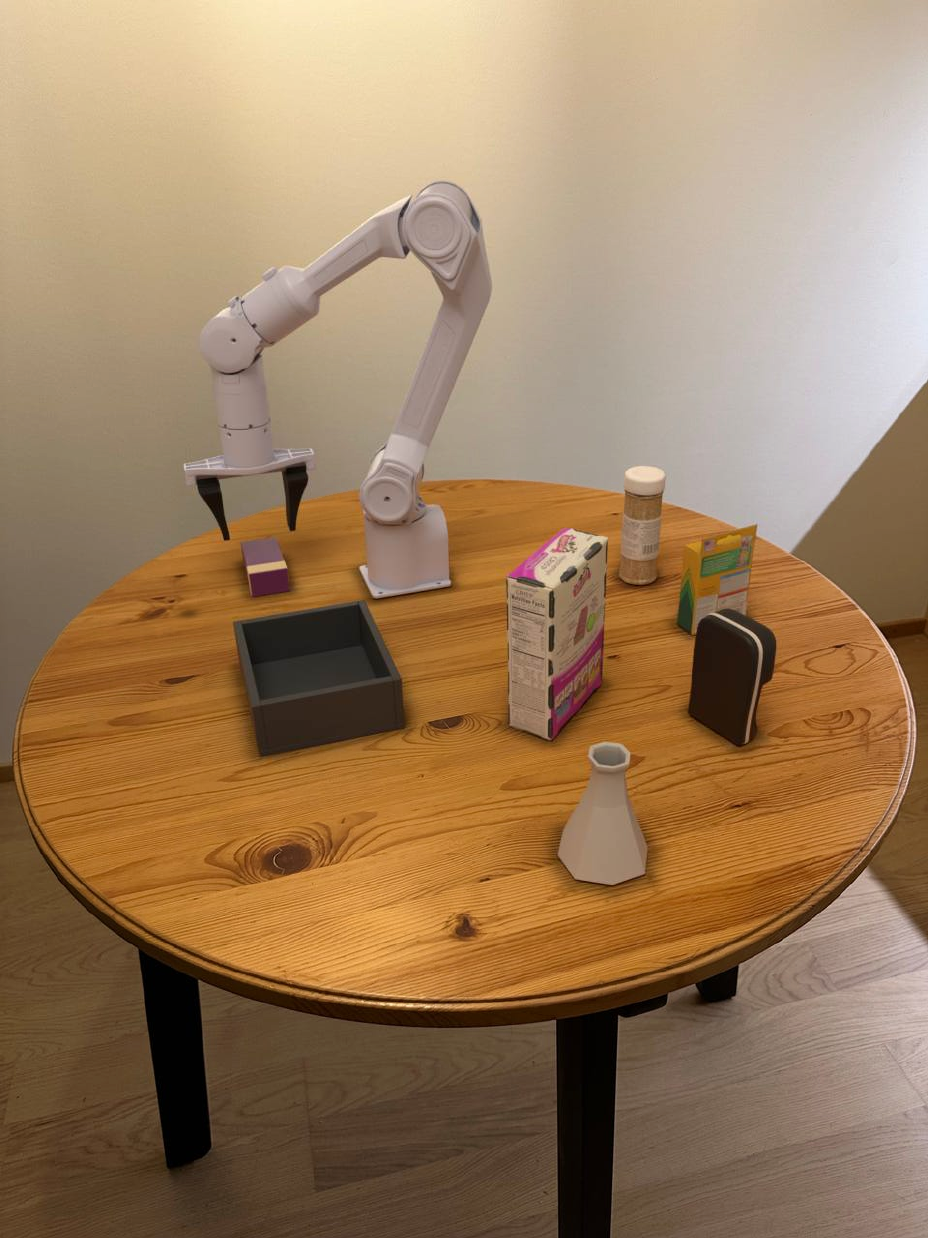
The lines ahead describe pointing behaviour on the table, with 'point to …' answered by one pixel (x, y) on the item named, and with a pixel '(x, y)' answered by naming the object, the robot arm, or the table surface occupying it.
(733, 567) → the crayon box
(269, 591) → the chocolate bar
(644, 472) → the spice jar
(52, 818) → the table surface
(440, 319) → the robot arm
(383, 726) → the open storage bin
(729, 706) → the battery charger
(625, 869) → the flask
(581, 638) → the candy bar box
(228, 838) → the table surface
